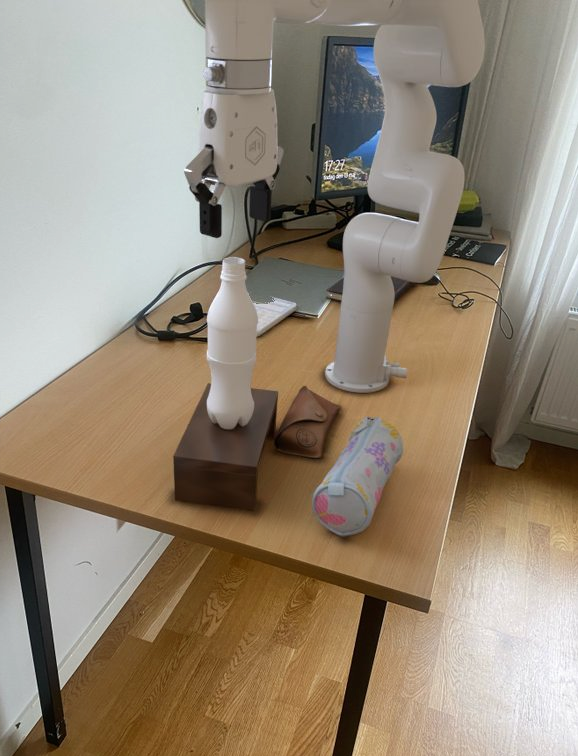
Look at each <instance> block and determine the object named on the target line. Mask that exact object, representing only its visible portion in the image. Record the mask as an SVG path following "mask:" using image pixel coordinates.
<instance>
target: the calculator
mask: <svg viewBox="0 0 578 756" xmlns="http://www.w3.org/2000/svg"><path fill="white" fill-rule="evenodd" d="M271 297H272V298H274V300H275V301H274V300H273V299H272V300H273V301H274V302H270V303H269V302H268V304H256V303H253V304H254V306H255V308H256V311H257V316H258V324H257V335H256V338H258V337H260V336H262V335H263V334H264V333H266V332H267V331H268V330H270V329H271V328H273V327H275V325H277V324H279V322H281V321H282V320H283V321H284V319H286V318H287V317H288V316H290V315H291V314H293V313H294V312H295V311H296V310H297V307H296V306H297V303H296V302H294V301H290V300H286V299H282V298H278V297H274V296H271ZM265 303H266V302H265ZM295 307H296V308H295ZM294 308H295V309H294Z"/></svg>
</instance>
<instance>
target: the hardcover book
mask: <svg viewBox="0 0 578 756" xmlns="http://www.w3.org/2000/svg"><path fill="white" fill-rule="evenodd" d="M390 277H391V280H392V283H393V286H394V293H395V298H394V304H396V302H397V301H398V300H400V298H401V297H402V296H403V295H404V294H406V293H407V292H408V291H409V290H410V289H411V288H412V287H413V286H414V285H415V284H416V283H415V282H410V281H406V280H403V279H399V278H395V277H392V276H390ZM343 284H344V276H343V277H341V278H340V279H339V280H337V282H335V283H334V284H332V285H331V286H330V287H328V289H326V292H327V296H326V297H325V299H326V300H330V301H333V302H339V303H341V301H342V294H343ZM328 293H330V294H332V296H330V295H328Z"/></svg>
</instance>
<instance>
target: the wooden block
mask: <svg viewBox="0 0 578 756" xmlns="http://www.w3.org/2000/svg"><path fill="white" fill-rule="evenodd" d="M210 388H211V382H208V383H207V384H206V386H205V388H204V391H203V392H202V395H201V396H200V399H199V401H198V403H197V405H196V408H195V409H194V410H193V414H192V415H191V417H190V419H189V422H188V424H187V426H186V428H185V431H184V432H183V435H182V437H181V439H180V441H179V443H178V445H177V447H176V450H175V451H174V452H173V453H174V454H173V455H172V459H173V460H172V461H173V486H174V501H180V502H186V503H194V504H201V505H208V506H215V507H221V508H222V507H223V508H229V509H237V510H244V511H250V512H255V510H256V507H257V501H258V499H257V498H258V480H259V467H260V463H261V460H262V457H263V453H264V450H265V447H266V442H267V439H268V437H271V438H275V436H276V430H277V418H278V417H277V416H278V415H277V414H278V403H279V402H278V401H279V391H278V390H271V389H262V388H254V387H253V388H251V395H252V398H253V401H254V410H253V414H252V417H251V419H250V420H249V422H248V423H247V424H246V425H245V426H240V425H239V423H238V422H237V424H236V426H235V427H234V429H230V430H229V429H223V428H221V427H220V425H219V424H218V423H216V424H214V423H213V422H212V421H211V419H210V417H209V415H208V411H207V398H208V396H209V393H210Z"/></svg>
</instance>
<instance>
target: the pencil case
mask: <svg viewBox="0 0 578 756" xmlns="http://www.w3.org/2000/svg"><path fill="white" fill-rule="evenodd" d="M403 454H404V441H403V437H402V435H401V433H400V431H399V430H398V429H397V428H396V427H395V426H394V425H393V424H391V423H390V422H388V421H387V420H385V419H384V418H380V417H378V416H375V417H374V418H371V417H370V416H365V418H363V419H361V420H359V422H358V423H357V424H356V425H355V426H354V428H353V429H352V430H351V433H350V435H349V438H348V443H347V444H346V446H345V447H344V448H343V449H342V451H341V453H340V454H339V456H338V458H337V459H336V461H335V463H334V464H333V466H332V467H331V468H330V470H329V471H328V472H327V474H326V475H325V476H324V478H323V480H322V483H320V484H319V485H318V486H317V488H316V489H315V490H314V492H313V495H312V499H311V510H312V512H313V513H312V514H313V515H314V517H315V519H316V520H317V521H318V523H320V525H322V527H323V528H325V529H327V530H328V531H330V532H332V533H333V534H335V535H337V536H340V537H350V536H353V535H357V534H359V533H361V532H363V531H364V530H366V529H367V528H368V527H369V526H370V524H371V522H372V520H373V517H374V515H375V511H376V509H377V508H378V505H379V503H380V500H381V497H382V494H383V490H384V487H385V485H387V483H388V481H389V479H390V477H391V475H392V473H393V471H394V469H395V466H396V465H397V464H398V463H399V462H400V461H401V459H402V456H403Z"/></svg>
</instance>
